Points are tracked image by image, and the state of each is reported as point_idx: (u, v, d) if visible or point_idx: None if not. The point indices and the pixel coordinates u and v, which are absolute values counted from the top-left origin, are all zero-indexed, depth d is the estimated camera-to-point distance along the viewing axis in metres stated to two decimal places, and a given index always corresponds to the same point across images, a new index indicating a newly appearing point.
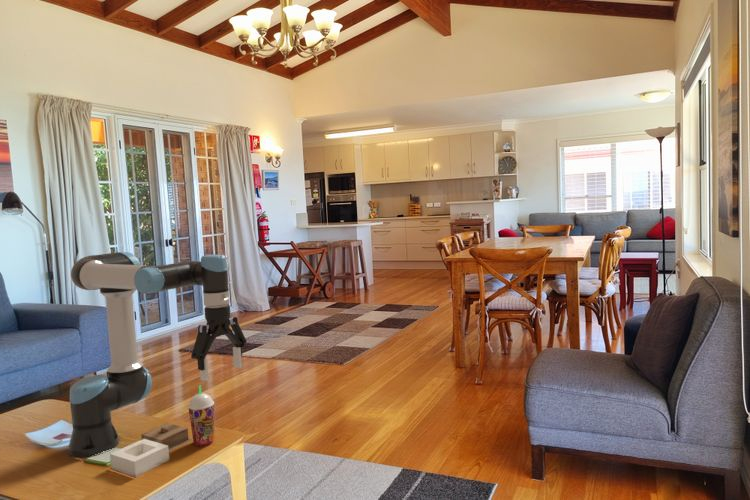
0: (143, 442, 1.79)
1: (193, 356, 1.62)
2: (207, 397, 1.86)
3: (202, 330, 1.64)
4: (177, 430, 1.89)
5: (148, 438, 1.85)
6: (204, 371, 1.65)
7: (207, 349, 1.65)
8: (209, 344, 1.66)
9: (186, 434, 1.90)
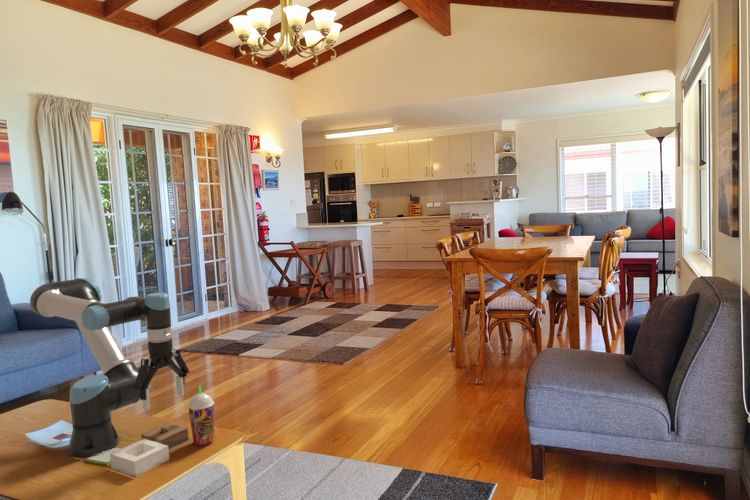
0: (143, 442, 1.79)
1: (135, 387, 1.78)
2: (207, 397, 1.86)
3: (144, 364, 1.80)
4: (177, 430, 1.89)
5: (148, 438, 1.85)
6: (146, 400, 1.80)
7: (149, 380, 1.81)
8: (151, 376, 1.81)
9: (186, 434, 1.90)
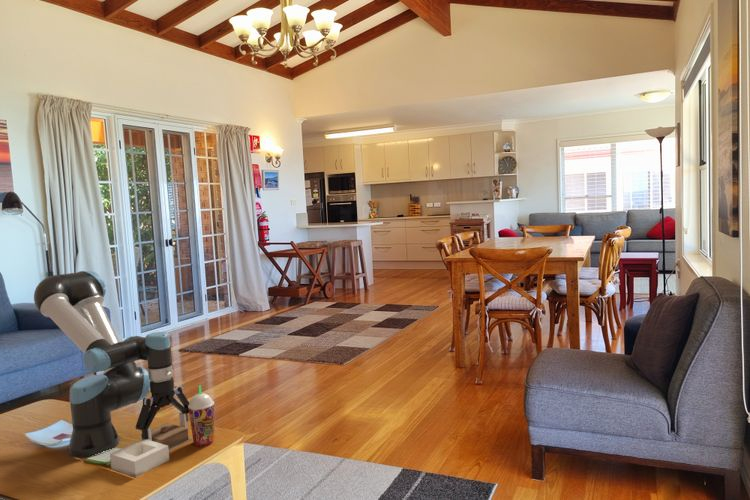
0: (143, 442, 1.79)
1: (137, 427, 1.79)
2: (207, 397, 1.86)
3: (146, 403, 1.81)
4: (177, 430, 1.89)
5: None
6: None
7: (151, 420, 1.82)
8: (153, 415, 1.83)
9: (186, 434, 1.90)
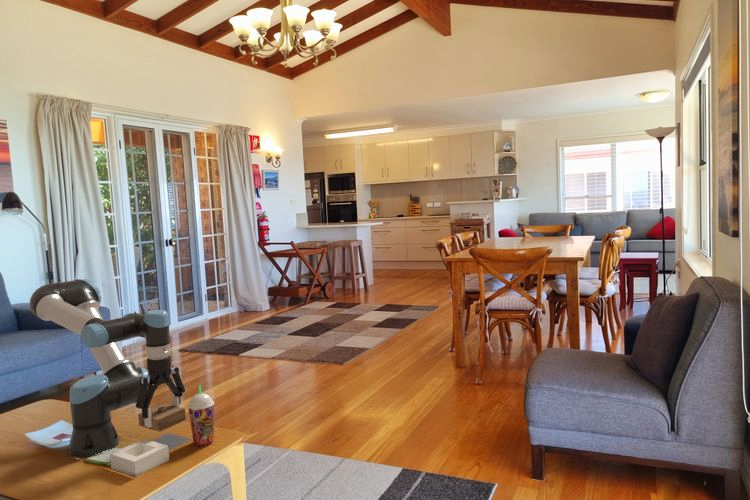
0: (143, 442, 1.79)
1: (137, 406, 1.80)
2: (207, 397, 1.86)
3: (143, 382, 1.81)
4: (174, 410, 1.88)
5: None
6: (148, 419, 1.83)
7: (150, 399, 1.83)
8: (151, 394, 1.83)
9: (183, 414, 1.90)
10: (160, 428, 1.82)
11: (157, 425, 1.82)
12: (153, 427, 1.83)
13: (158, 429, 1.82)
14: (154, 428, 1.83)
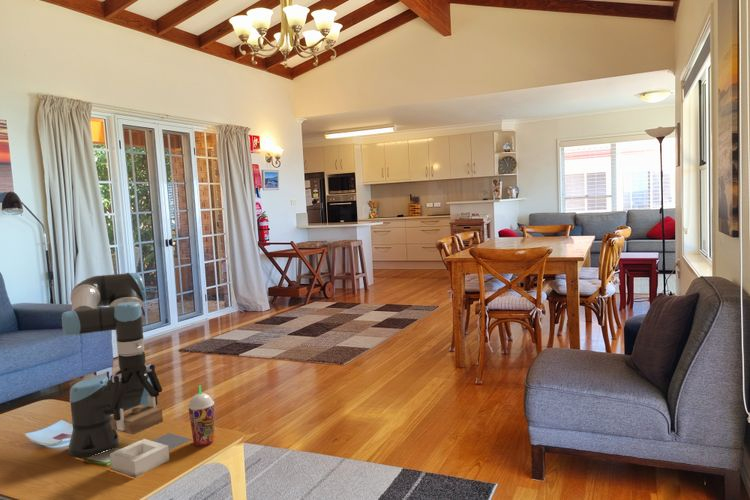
0: (143, 442, 1.79)
1: (108, 407, 1.65)
2: (207, 397, 1.86)
3: (114, 381, 1.65)
4: (150, 411, 1.73)
5: None
6: (120, 421, 1.67)
7: (122, 399, 1.67)
8: (124, 393, 1.67)
9: (160, 415, 1.74)
10: (134, 431, 1.66)
11: (130, 427, 1.66)
12: (126, 430, 1.67)
13: (131, 432, 1.66)
14: (127, 431, 1.67)
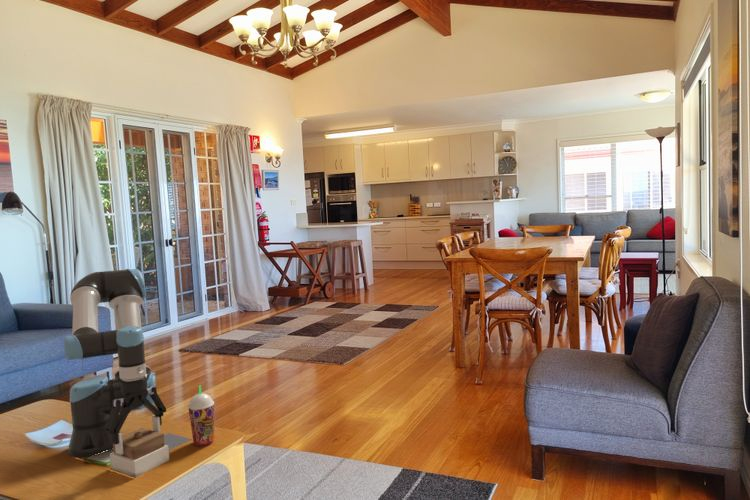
0: None
1: (106, 431, 1.64)
2: (207, 397, 1.86)
3: (115, 405, 1.66)
4: (152, 436, 1.73)
5: None
6: (118, 445, 1.67)
7: (121, 423, 1.67)
8: (124, 418, 1.67)
9: (162, 440, 1.74)
10: (135, 456, 1.66)
11: (132, 453, 1.67)
12: (128, 455, 1.68)
13: (133, 457, 1.67)
14: (129, 456, 1.68)
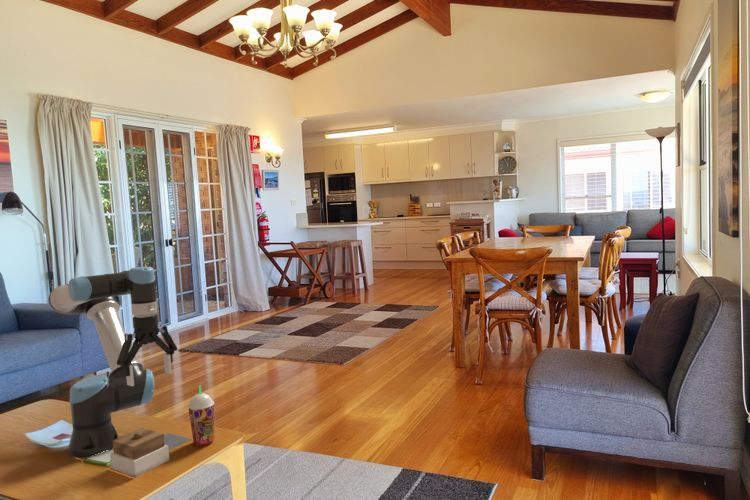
0: None
1: (118, 363, 1.73)
2: (207, 397, 1.86)
3: (127, 339, 1.74)
4: (152, 436, 1.73)
5: (120, 445, 1.70)
6: (129, 377, 1.75)
7: (132, 356, 1.75)
8: (135, 351, 1.76)
9: (162, 440, 1.74)
10: (135, 456, 1.66)
11: (132, 453, 1.67)
12: (128, 455, 1.68)
13: (133, 457, 1.67)
14: (129, 456, 1.68)
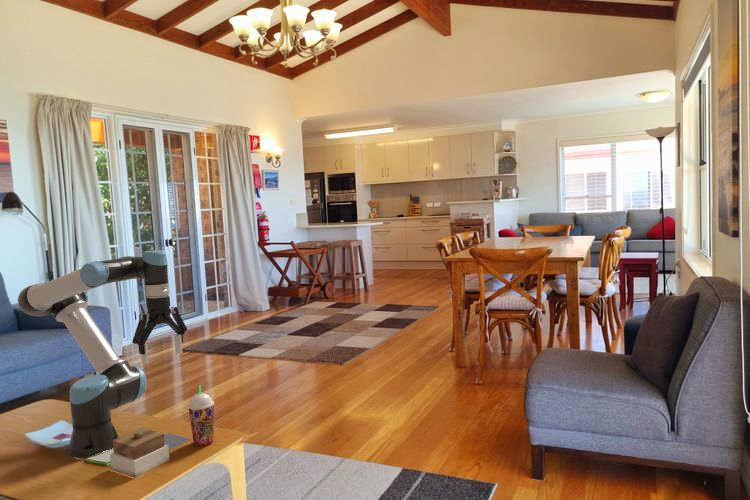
0: None
1: (134, 341, 1.81)
2: (207, 397, 1.86)
3: (142, 318, 1.83)
4: (152, 436, 1.73)
5: (120, 445, 1.70)
6: (144, 355, 1.83)
7: (147, 335, 1.83)
8: (149, 331, 1.84)
9: (162, 440, 1.74)
10: (135, 456, 1.66)
11: (132, 453, 1.67)
12: (128, 455, 1.68)
13: (133, 457, 1.67)
14: (129, 456, 1.68)
